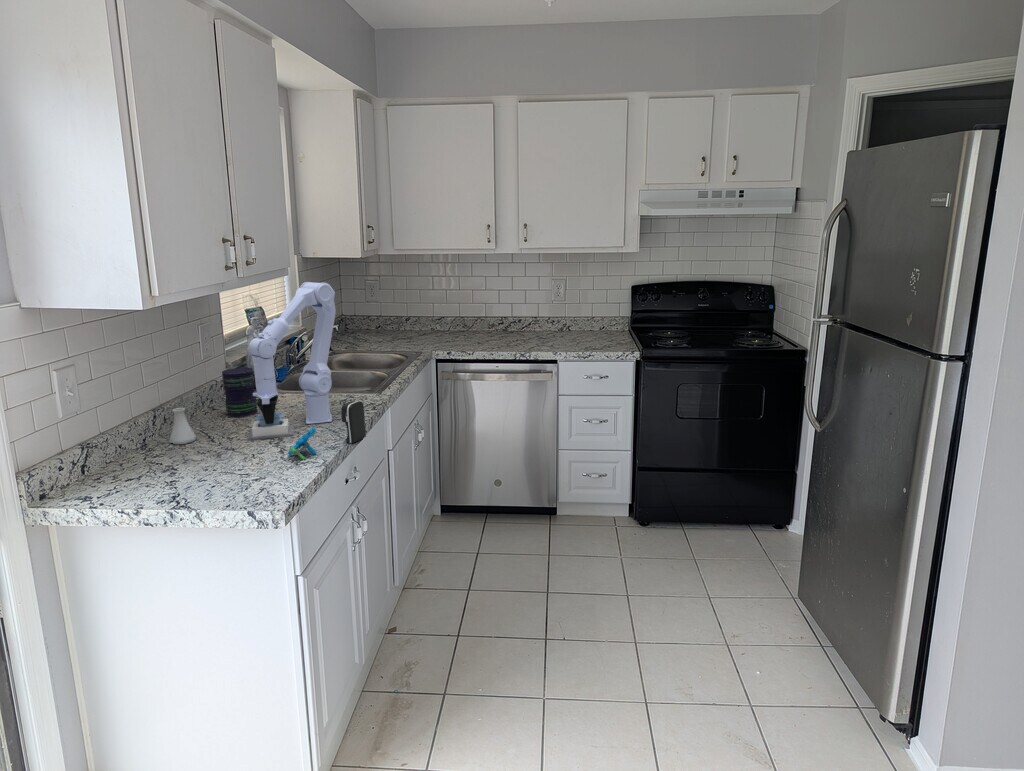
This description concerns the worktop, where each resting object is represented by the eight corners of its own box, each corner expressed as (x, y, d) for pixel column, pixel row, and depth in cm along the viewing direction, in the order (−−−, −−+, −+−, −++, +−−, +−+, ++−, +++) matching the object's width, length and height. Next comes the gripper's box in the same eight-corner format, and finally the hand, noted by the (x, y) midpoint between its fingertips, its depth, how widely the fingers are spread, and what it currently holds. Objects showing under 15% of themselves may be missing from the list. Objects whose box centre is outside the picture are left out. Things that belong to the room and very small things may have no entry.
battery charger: (356, 436, 207) (352, 398, 205) (366, 437, 206) (363, 399, 203) (341, 443, 201) (338, 404, 199) (352, 444, 200) (349, 405, 197)
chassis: (250, 431, 216) (249, 421, 215) (294, 426, 219) (293, 417, 218) (247, 440, 206) (246, 430, 206) (293, 435, 210) (292, 425, 209)
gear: (300, 441, 198) (318, 420, 194) (315, 456, 198) (334, 434, 194) (278, 459, 188) (296, 437, 184) (294, 474, 189) (312, 452, 184)
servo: (256, 426, 213) (254, 413, 212) (285, 423, 215) (283, 410, 214) (255, 429, 209) (253, 416, 209) (284, 426, 212) (283, 413, 211)
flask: (202, 438, 210) (197, 406, 208) (184, 446, 203) (180, 412, 201) (181, 437, 212) (177, 405, 210) (164, 444, 205) (159, 411, 203)
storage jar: (220, 417, 233) (214, 373, 230) (238, 409, 242) (233, 367, 239) (246, 418, 231) (241, 374, 227) (264, 410, 240) (259, 367, 236)
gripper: (253, 374, 215) (258, 416, 218) (248, 384, 201) (254, 429, 204) (277, 372, 216) (281, 414, 219) (274, 382, 203) (279, 427, 206)
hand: (270, 421), depth 212 cm, fingers closed on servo, 4 cm apart
